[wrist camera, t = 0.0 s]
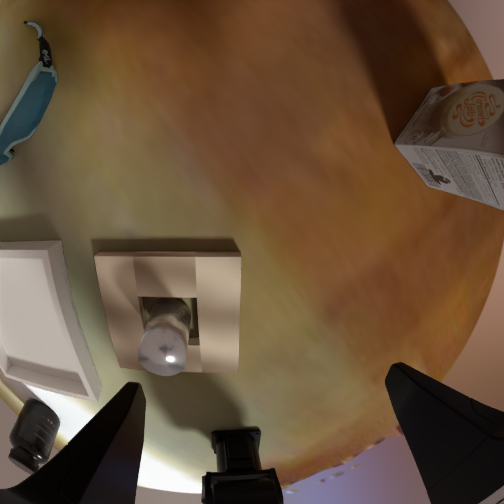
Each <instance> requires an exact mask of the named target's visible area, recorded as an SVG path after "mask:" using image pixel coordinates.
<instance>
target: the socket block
mask: <svg viewBox="0 0 504 504" xmlns="http://www.w3.org/2000/svg"><path fill="white" fill-rule="evenodd" d="M94 259H95V265H96V271H97V277H98V282H99V287H100V292H101V297H102V302H103V307H104V311H105V315H106V319H107V323H108V327H109V331H110V335H111V338H112V342H113V346H114V349H115V352H116V356H117V359H118V362H119V365H120V368H127V369H138V370H147V369H145V368H144V367H143V366H142V365H141V363H140V362H139V360H138V356H137V352H138V348H139V345H140V342H141V339H142V336H143V334H144V331H145V328H146V325H147V323H146V318H145V312H144V305H143V299H142V297H186V298H197V309H198V325H199V338H189V339H188V348H187V357H186V365H185V367H184V369H183V370H182V371H181V372H238V358H239V319H240V286H241V253H240V252H171V251H99V252H98V253H97V254H96V255H95V256H94Z"/></svg>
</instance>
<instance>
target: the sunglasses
mask: <svg viewBox="0 0 504 504" xmlns="http://www.w3.org/2000/svg"><path fill="white" fill-rule="evenodd" d="M24 24H26V25H28V26H32V27H35V28H36V29H37V31H38V33H39V34H38V41H39V45H40V58H39V63H38V64H37V65H36V66H35V67H34V68H33V69H32V70H31V72H30V74H29V76H28V77H27V79H26V81H25V83H24V85H23V87H22V89H21V91H20V92H19V94H18V96H17V97H16V99H15V101H14V103H13V104H12V106H11V108H10V110H9V111H8V113H7V115H6V116H5V118H4V120H3V121H2V123H1V125H0V165H1V164H3V163H5V162H7V161H8V160H9V161H10V160H11V159H12V158H13V154H12V152H14V150H13V149H12V147H13V146H14V145H16V144H18V143H20V142H23V141H25V140H27V139H29V138H30V137H31V136H32V135H33V133H34V132H35V131H36V129H37V126H38V124H39V123H40V121H41V119H42V116H43V114H44V112H45V110H46V108H47V106H48V104H49V102H50V100H51V97H52V94H53V91H54V88H55V86H56V83H57V82H58V76H57V71H56V70H54V66H51V65H52V57H51V50H50V46H49V43H48V42H47V41H46V40H45V38H44V30H43V29H42V28H41V27H40V26H39V25H37V24H36V23H33V22H26V21H24ZM39 72H41V73H39ZM10 151H12V152H10Z"/></svg>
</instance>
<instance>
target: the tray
mask: <svg viewBox="0 0 504 504" xmlns="http://www.w3.org/2000/svg"><path fill="white" fill-rule="evenodd" d="M0 368H1V370H2V372H3V374H4V375H5V377H8V378H10V379H13V380H16V381H19V382H22V383H25V384H28V385H31V386H34V387H37V388H40V389H44V390H47V391H51V392H55V393H59V394H63V395H67V396H71V397H75V398H80V399H85V400H90V401H95V402H98V399H99V396H100V394H101V391H102V388H103V386H102V384H101V381H100V379H99V377H98V374H97V372H96V369H95V367H94V364H93V361H92V359H91V356H90V353H89V350H88V347H87V345H86V342H85V339H84V336H83V332H82V329H81V326H80V323H79V319H78V316H77V312H76V309H75V305H74V301H73V297H72V293H71V289H70V284H69V280H68V275H67V270H66V265H65V260H64V254H63V248H62V242H61V240H59V241H12V242H0Z"/></svg>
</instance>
